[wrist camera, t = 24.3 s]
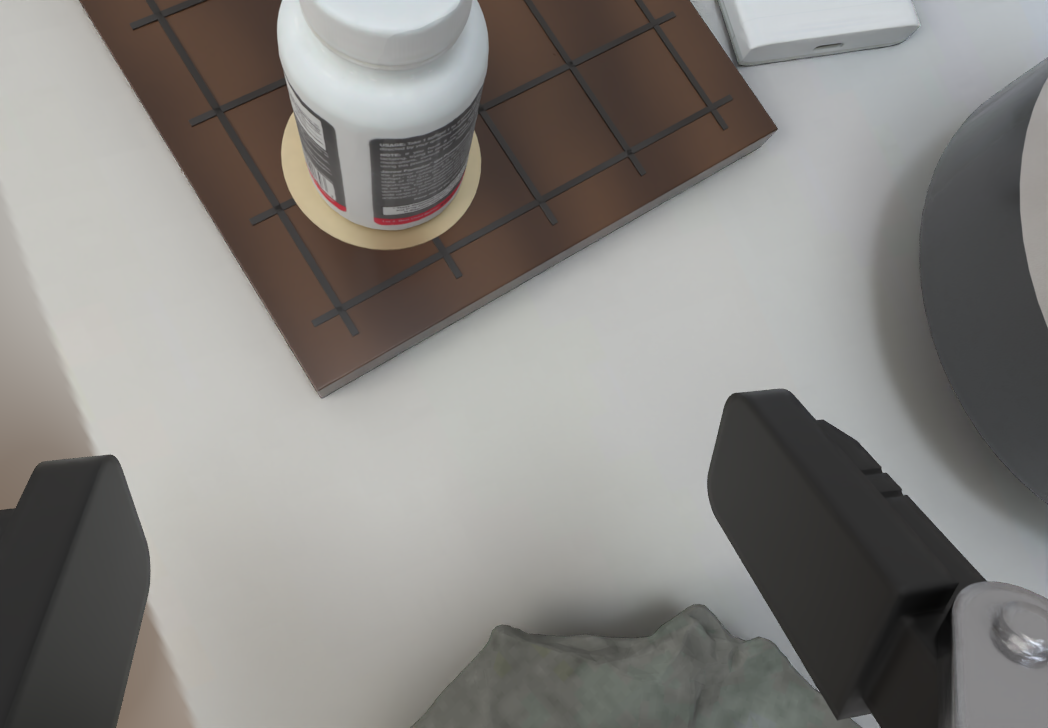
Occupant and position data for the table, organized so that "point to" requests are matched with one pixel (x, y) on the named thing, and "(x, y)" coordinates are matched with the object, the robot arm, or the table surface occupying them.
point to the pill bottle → (384, 101)
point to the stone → (631, 682)
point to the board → (491, 173)
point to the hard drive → (814, 27)
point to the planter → (995, 272)
